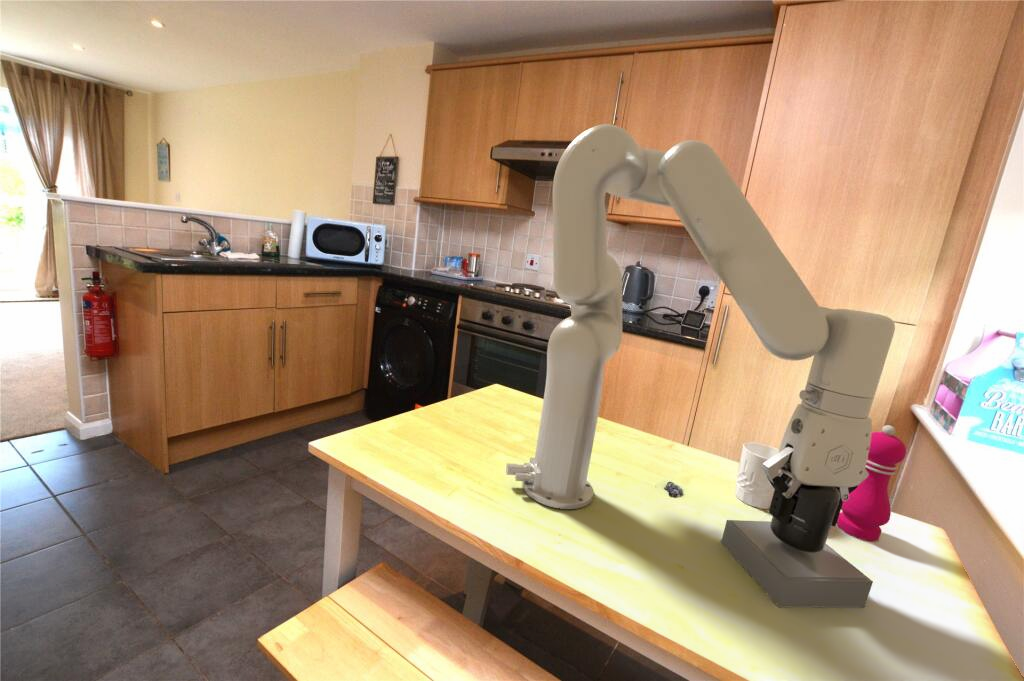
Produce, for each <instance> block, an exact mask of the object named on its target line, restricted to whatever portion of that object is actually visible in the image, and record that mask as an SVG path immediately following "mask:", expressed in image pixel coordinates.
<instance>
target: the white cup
mask: <svg viewBox="0 0 1024 681" xmlns="http://www.w3.org/2000/svg"><path fill="white" fill-rule="evenodd" d="M779 449H780V448H776V447H774V446H770V445H769V444H764V443H759V442H753V441H752V442H744V443H743V444H742V450H741V454H740V458H739V464H738V469H737V474H736V483H735V484H736V485H735V488H734V495H735V497H736V498H737V499H738V500H739V501H741V502H743V503H745V504H747V505H749V506H750V507H754V508H757V509H762V510H763V509H764V510H769V509H770V505H771V501H772V498H773V494H774V490H775V489H774V488H773V487H772V486H771V483H770V481H769V480H768V478H767V475H766V474H765V472H764V470H763V468H762V464H763V463H764V462H766V461H767V460H769V459H770V458H772V457H773V456H774V455H776V454H777V453H778V452H779ZM780 472H781V469H779V473H780Z"/></svg>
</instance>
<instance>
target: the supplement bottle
mask: <svg viewBox="0 0 1024 681" xmlns="http://www.w3.org/2000/svg"><path fill="white" fill-rule="evenodd" d="M791 480H792V478H791V477H789V478H788V479H787V480H786V481H785V483H786V485H788V484H789V483H790V481H791ZM792 498H793V499H795V503H794V507H793V510H792V514H791V517H790V521H789V523H788V524H787V525H785V524H782V523H781V522H779V521H778V520H777V519H776V518H775V517H774V516H772V518H771V521H770V522H771V525H770V527H771V530H772V532H773V534H774V535H775V536H776V537H777V538H778V539H779V540H781V541H782V542H784V543H785V544H787V545H789V546H791V547H793V548H795V549H798V550H801V551H805V552H810V553H815V552H819V551H821V550H822V549H823V548H824V546H825V543H826V544H827V540H828V536H829V534H830V531H831V528H832V526H831V525H832V522H833V519H834V516H835V513H836V510H837V507H838V504H839V501H840V492H839V490H838V489H837V487H826V486H810V485H803V484H801V485H800V487H799V488H798V489H797V491H796V492H795V493H794V494H793V496H792Z"/></svg>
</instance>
